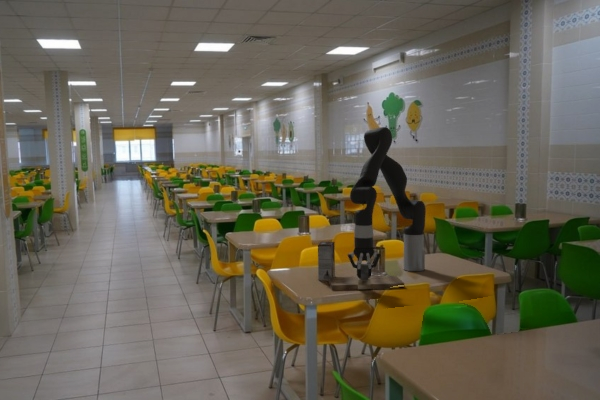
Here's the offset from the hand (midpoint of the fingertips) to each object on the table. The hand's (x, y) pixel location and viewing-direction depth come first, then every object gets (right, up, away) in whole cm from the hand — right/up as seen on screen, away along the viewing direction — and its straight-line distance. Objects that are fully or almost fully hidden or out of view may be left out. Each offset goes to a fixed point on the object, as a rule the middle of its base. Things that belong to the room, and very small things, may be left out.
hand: (364, 277), depth 214 cm
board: (+2, -4, +9) cm, 10 cm away
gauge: (0, -4, +5) cm, 7 cm away
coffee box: (-14, -4, +22) cm, 26 cm away
